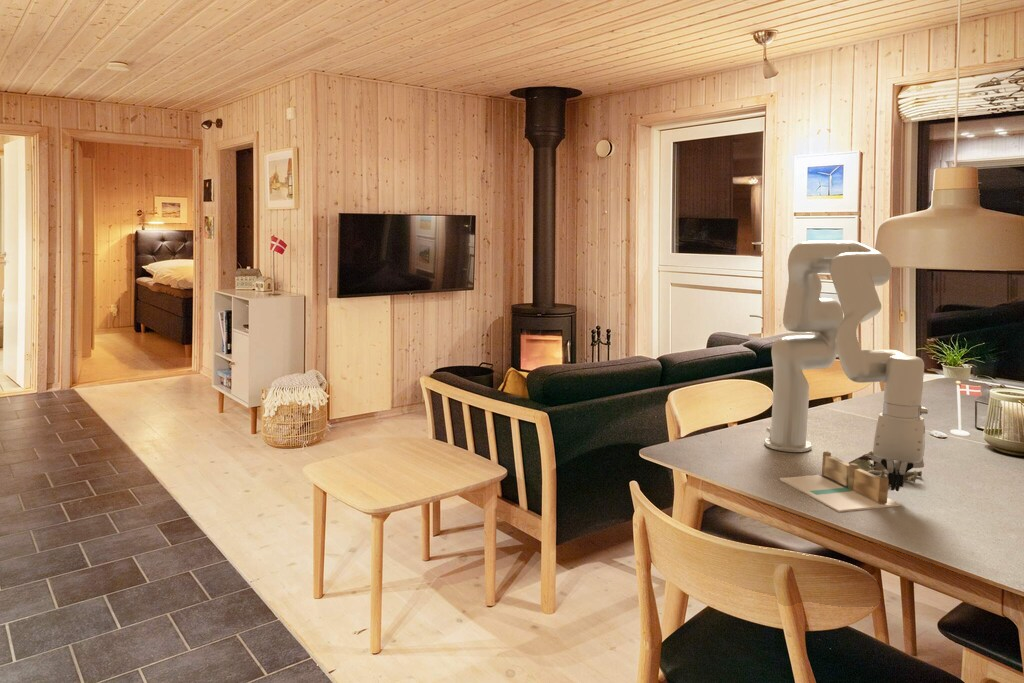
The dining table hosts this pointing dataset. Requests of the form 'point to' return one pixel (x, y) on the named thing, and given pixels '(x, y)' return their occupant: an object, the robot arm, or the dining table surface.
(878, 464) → the figurine
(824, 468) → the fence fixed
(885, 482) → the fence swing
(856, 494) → the card
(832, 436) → the dining table surface
